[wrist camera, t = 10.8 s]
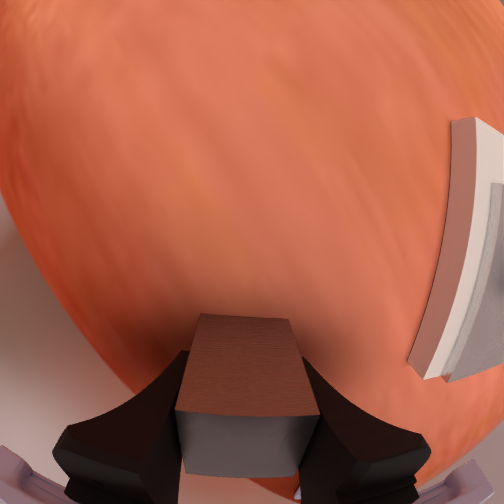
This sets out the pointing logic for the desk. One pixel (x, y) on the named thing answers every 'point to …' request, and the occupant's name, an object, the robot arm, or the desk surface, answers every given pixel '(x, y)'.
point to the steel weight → (244, 399)
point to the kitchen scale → (468, 263)
